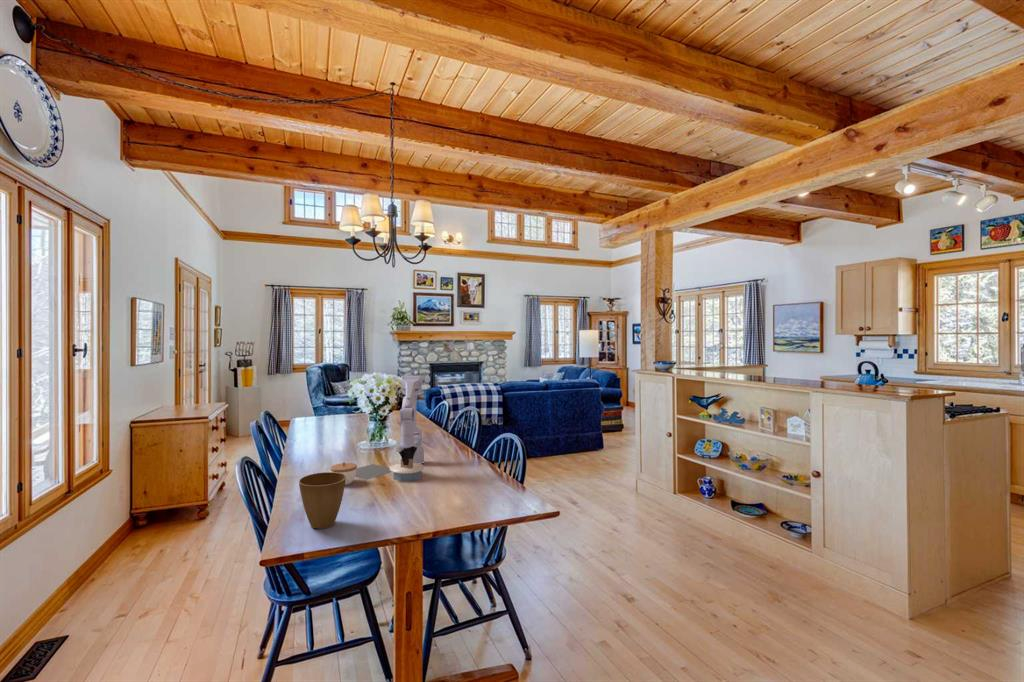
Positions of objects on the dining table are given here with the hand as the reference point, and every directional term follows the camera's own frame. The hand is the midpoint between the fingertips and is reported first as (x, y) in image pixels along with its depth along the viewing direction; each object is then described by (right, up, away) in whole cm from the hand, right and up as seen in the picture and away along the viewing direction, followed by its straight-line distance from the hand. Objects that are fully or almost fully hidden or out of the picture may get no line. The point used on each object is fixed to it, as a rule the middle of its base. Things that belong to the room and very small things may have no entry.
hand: (407, 464), depth 218 cm
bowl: (0, -6, 0) cm, 6 cm away
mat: (-20, -6, +9) cm, 22 cm away
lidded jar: (-26, -6, -9) cm, 28 cm away
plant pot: (-17, -7, -54) cm, 57 cm away
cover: (-1, -2, 0) cm, 2 cm away
